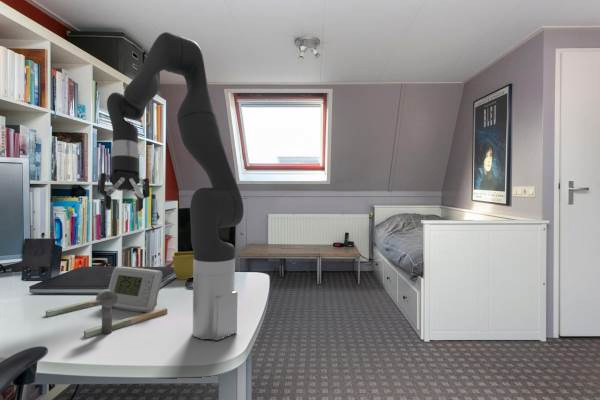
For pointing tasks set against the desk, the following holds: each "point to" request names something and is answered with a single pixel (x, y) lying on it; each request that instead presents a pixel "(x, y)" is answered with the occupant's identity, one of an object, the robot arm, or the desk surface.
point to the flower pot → (183, 264)
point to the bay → (106, 313)
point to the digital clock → (135, 288)
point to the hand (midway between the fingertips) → (124, 210)
